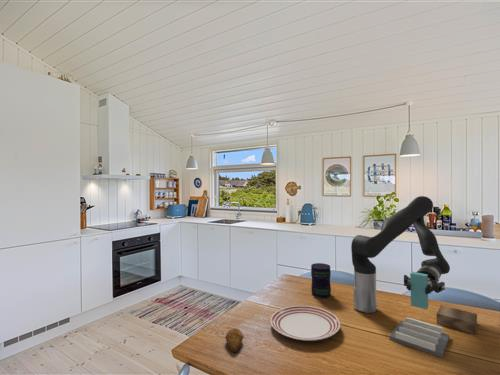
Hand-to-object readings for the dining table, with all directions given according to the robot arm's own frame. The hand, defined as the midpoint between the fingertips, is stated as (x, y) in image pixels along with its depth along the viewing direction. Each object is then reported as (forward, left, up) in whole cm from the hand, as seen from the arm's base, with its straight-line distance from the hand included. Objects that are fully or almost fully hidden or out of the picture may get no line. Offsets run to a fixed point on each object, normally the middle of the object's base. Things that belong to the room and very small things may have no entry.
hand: (417, 289), depth 97 cm
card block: (+1, +3, -7) cm, 7 cm away
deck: (+15, +21, -19) cm, 32 cm away
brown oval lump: (-59, -30, -19) cm, 69 cm away
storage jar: (-41, +26, -19) cm, 53 cm away
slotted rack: (+1, +2, -19) cm, 19 cm away
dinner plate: (-39, -9, -19) cm, 45 cm away
